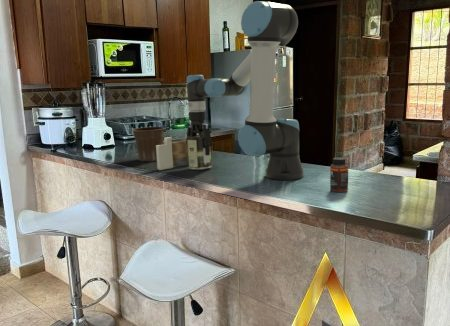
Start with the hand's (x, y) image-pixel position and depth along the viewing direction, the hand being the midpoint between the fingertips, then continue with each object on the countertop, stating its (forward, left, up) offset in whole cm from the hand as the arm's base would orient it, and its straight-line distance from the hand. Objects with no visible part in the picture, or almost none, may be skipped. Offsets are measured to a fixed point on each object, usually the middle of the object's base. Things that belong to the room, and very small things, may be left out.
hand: (199, 161), depth 187 cm
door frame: (+13, 0, -4) cm, 14 cm away
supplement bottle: (-66, -13, -4) cm, 67 cm away
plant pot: (+39, +4, -4) cm, 40 cm away
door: (+14, 0, -3) cm, 14 cm away
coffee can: (0, 0, -3) cm, 3 cm away
